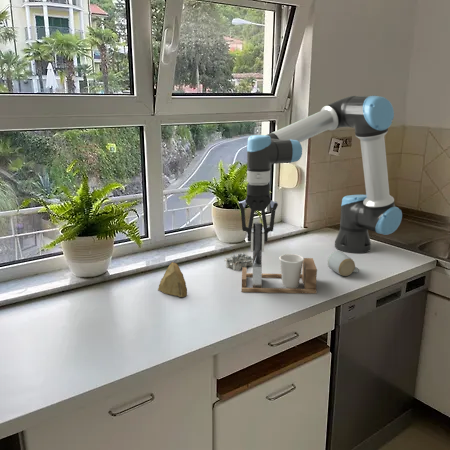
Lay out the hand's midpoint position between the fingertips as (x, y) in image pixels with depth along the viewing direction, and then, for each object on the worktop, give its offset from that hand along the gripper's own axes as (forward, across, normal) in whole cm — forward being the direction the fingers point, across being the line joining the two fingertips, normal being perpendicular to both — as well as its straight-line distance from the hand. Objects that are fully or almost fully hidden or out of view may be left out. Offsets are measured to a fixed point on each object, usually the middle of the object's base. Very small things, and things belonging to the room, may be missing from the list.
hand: (257, 250), depth 159 cm
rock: (+13, -28, -9) cm, 32 cm away
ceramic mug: (+13, +33, +12) cm, 37 cm away
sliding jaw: (+13, 0, 0) cm, 13 cm away
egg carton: (+13, -7, +18) cm, 23 cm away
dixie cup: (+13, +12, 0) cm, 17 cm away
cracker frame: (+13, +7, 0) cm, 15 cm away
